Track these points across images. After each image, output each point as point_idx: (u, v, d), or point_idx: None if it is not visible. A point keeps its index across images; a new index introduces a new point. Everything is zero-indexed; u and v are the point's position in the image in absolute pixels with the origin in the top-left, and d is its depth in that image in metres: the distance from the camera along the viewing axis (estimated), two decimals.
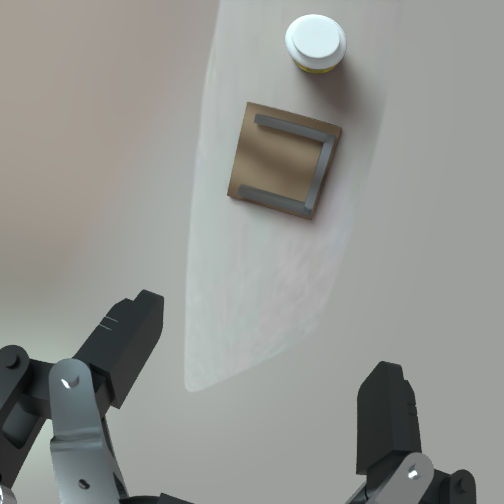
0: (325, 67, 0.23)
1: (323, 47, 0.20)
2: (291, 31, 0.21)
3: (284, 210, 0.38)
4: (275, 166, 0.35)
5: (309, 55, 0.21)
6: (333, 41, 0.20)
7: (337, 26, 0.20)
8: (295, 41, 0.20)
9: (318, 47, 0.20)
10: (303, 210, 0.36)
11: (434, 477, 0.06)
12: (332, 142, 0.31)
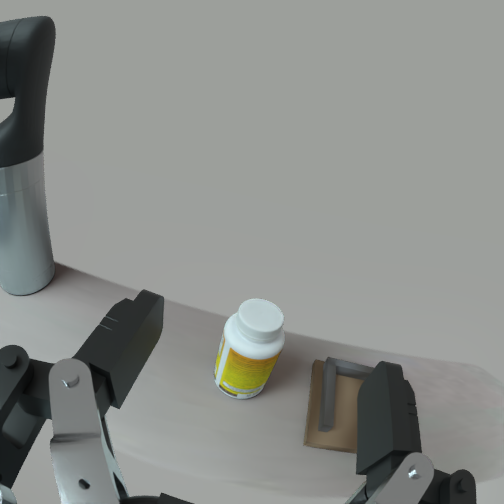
0: (282, 328, 0.28)
1: (272, 310, 0.26)
2: (248, 346, 0.25)
3: None
4: None
5: (282, 321, 0.25)
6: (264, 302, 0.27)
7: None
8: (269, 329, 0.24)
9: (273, 313, 0.26)
10: None
11: (434, 477, 0.06)
12: (333, 359, 0.33)
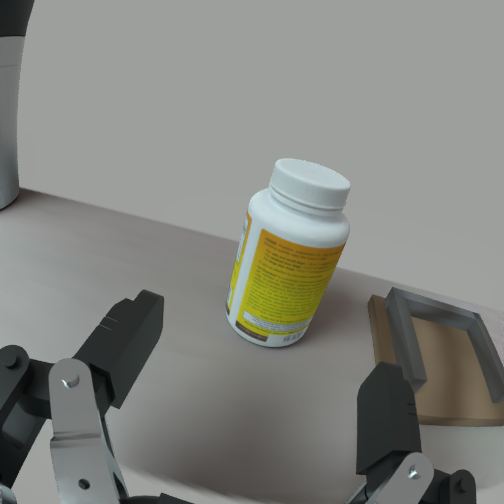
0: None
1: (328, 172, 0.15)
2: (295, 221, 0.14)
3: None
4: (454, 364, 0.18)
5: (348, 183, 0.15)
6: (314, 164, 0.16)
7: None
8: (332, 185, 0.14)
9: (331, 175, 0.15)
10: (478, 319, 0.21)
11: (434, 477, 0.06)
12: (400, 290, 0.22)
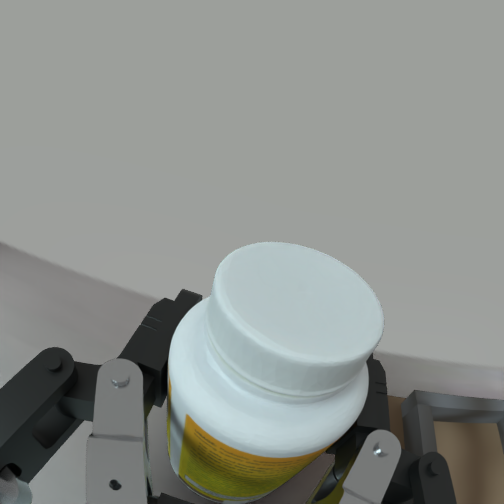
0: None
1: (338, 279, 0.07)
2: (252, 418, 0.06)
3: None
4: (478, 481, 0.10)
5: (381, 315, 0.06)
6: (309, 255, 0.08)
7: None
8: (346, 351, 0.05)
9: (344, 290, 0.07)
10: None
11: (403, 458, 0.07)
12: (424, 393, 0.14)
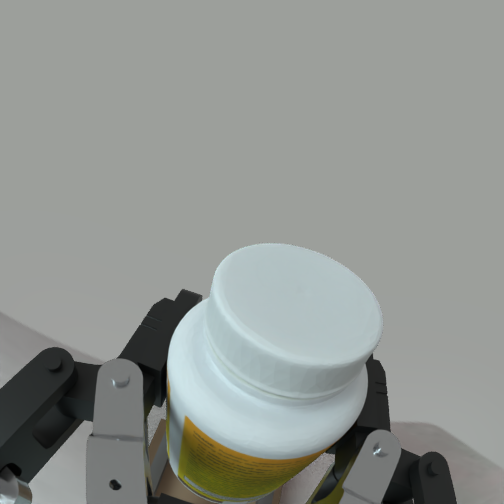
0: None
1: (337, 280, 0.07)
2: (251, 420, 0.06)
3: (279, 487, 0.21)
4: None
5: (380, 317, 0.06)
6: (308, 257, 0.08)
7: None
8: (345, 353, 0.05)
9: (343, 292, 0.07)
10: None
11: (403, 458, 0.07)
12: None
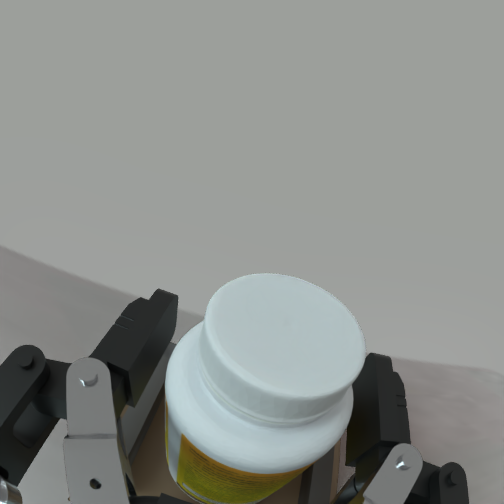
0: None
1: (324, 311, 0.08)
2: (241, 440, 0.06)
3: (336, 449, 0.14)
4: None
5: (363, 347, 0.07)
6: (297, 287, 0.08)
7: None
8: (325, 386, 0.06)
9: (328, 323, 0.07)
10: None
11: (423, 469, 0.06)
12: (175, 346, 0.16)
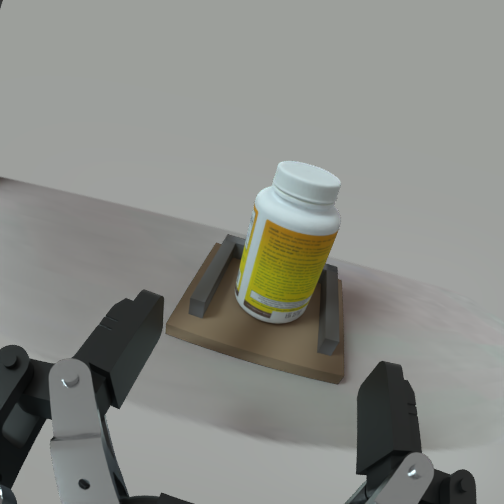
0: None
1: (323, 172, 0.18)
2: (294, 213, 0.17)
3: (340, 304, 0.25)
4: None
5: (339, 182, 0.18)
6: (311, 166, 0.19)
7: None
8: (325, 184, 0.16)
9: (324, 174, 0.18)
10: (331, 271, 0.26)
11: (434, 477, 0.06)
12: (235, 237, 0.27)
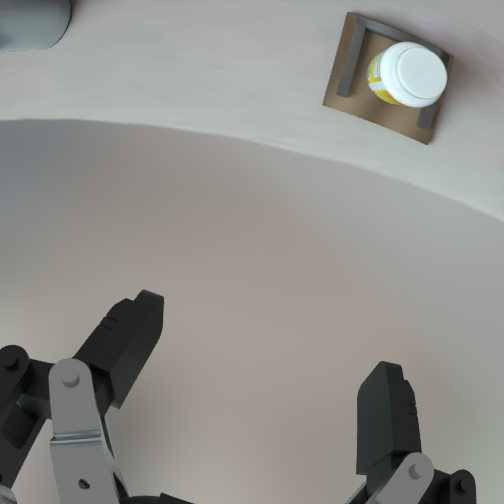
0: None
1: (435, 68, 0.16)
2: (405, 98, 0.19)
3: None
4: None
5: (444, 85, 0.16)
6: (428, 55, 0.15)
7: (396, 47, 0.17)
8: (429, 96, 0.17)
9: (436, 73, 0.16)
10: (444, 60, 0.21)
11: (434, 477, 0.06)
12: (364, 18, 0.21)
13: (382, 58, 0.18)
